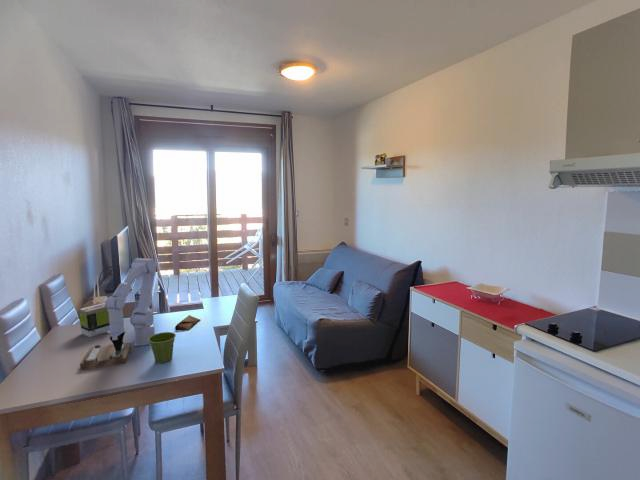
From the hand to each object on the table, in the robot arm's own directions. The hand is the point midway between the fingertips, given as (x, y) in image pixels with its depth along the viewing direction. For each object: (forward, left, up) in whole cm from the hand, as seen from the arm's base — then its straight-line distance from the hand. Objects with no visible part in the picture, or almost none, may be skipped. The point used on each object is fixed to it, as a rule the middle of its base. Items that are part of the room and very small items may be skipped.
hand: (118, 348), depth 171 cm
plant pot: (-20, +11, -4) cm, 23 cm away
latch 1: (+10, +1, -1) cm, 10 cm away
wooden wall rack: (+5, -1, -4) cm, 6 cm away
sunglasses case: (-31, -32, -4) cm, 45 cm away
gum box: (-8, -37, -4) cm, 38 cm away
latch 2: (0, +1, -1) cm, 1 cm away
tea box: (+16, -40, -4) cm, 43 cm away
